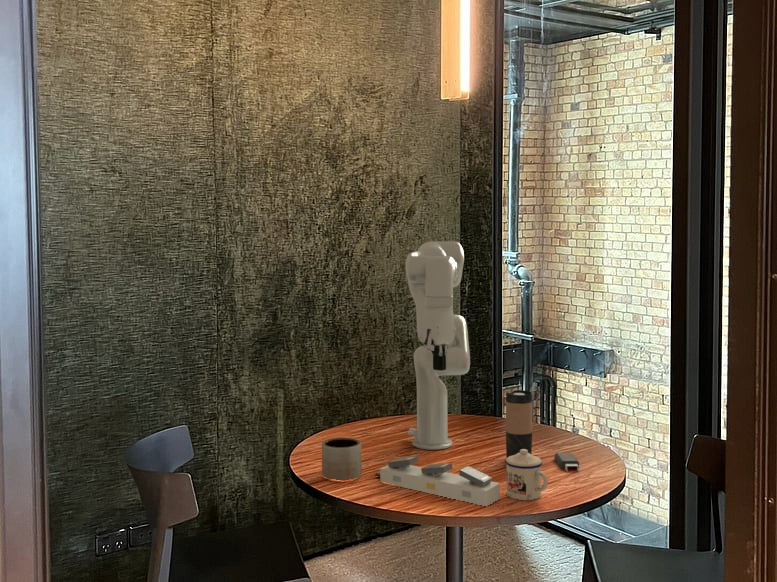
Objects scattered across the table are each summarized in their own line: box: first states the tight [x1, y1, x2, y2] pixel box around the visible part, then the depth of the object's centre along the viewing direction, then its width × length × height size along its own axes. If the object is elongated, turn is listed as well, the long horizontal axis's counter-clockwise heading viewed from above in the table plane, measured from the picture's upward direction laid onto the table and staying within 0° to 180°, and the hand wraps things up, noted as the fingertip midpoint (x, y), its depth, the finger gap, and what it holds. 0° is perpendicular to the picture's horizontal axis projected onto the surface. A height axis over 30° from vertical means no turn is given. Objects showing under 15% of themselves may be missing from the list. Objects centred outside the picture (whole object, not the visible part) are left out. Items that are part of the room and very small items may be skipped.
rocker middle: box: [421, 463, 453, 474], centre depth 198 cm, size 7×4×2 cm, turn 54°
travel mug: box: [505, 389, 533, 459], centre depth 223 cm, size 8×8×20 cm
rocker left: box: [387, 455, 419, 468], centre depth 204 cm, size 7×4×2 cm, turn 54°
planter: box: [321, 437, 363, 480], centre depth 210 cm, size 11×11×10 cm
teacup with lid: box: [505, 449, 549, 501], centre depth 193 cm, size 12×9×12 cm
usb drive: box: [554, 452, 580, 473], centre depth 219 cm, size 5×12×3 cm, turn 179°
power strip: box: [374, 464, 501, 508], centre depth 199 cm, size 36×7×5 cm, turn 54°
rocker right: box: [458, 466, 493, 487], centre depth 191 cm, size 7×4×2 cm, turn 54°
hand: (439, 369), depth 210 cm, fingers closed
